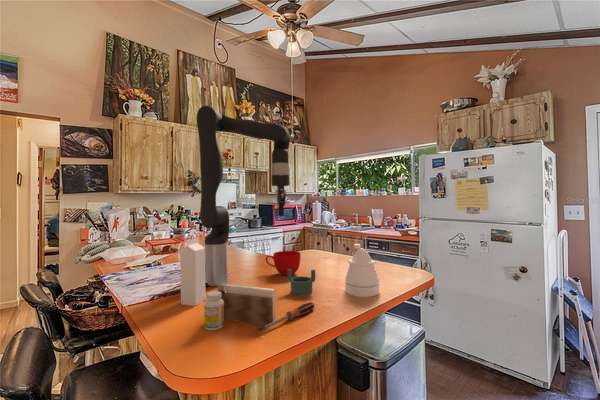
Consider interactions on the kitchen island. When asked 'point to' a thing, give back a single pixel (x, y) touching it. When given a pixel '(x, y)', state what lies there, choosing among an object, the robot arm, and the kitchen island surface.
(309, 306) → the screwdriver
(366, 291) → the honey pot
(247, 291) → the cream flat slab
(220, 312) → the supplement bottle
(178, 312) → the kitchen island surface
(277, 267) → the ceramic cup
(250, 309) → the brown rectangular block
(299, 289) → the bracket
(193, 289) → the milk
